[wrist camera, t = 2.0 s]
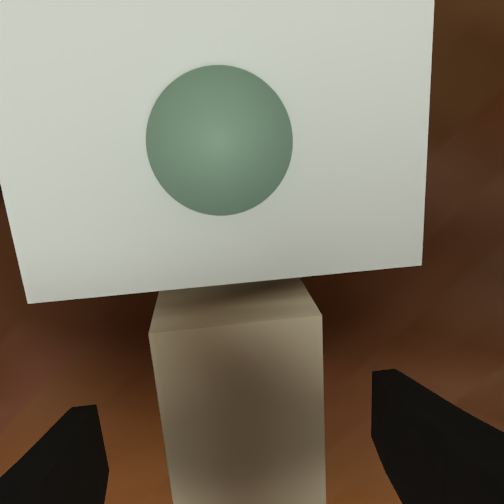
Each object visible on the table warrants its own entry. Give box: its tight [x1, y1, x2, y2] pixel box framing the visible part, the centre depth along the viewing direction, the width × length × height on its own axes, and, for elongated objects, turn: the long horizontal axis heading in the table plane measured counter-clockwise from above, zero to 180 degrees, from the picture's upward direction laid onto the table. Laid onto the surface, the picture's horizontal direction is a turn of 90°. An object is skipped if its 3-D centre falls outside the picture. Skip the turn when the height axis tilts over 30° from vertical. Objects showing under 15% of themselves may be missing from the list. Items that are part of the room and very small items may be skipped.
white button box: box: [0, 0, 434, 304], centre depth 13 cm, size 10×7×6 cm
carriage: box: [148, 277, 326, 504], centre depth 14 cm, size 4×6×6 cm, turn 4°
